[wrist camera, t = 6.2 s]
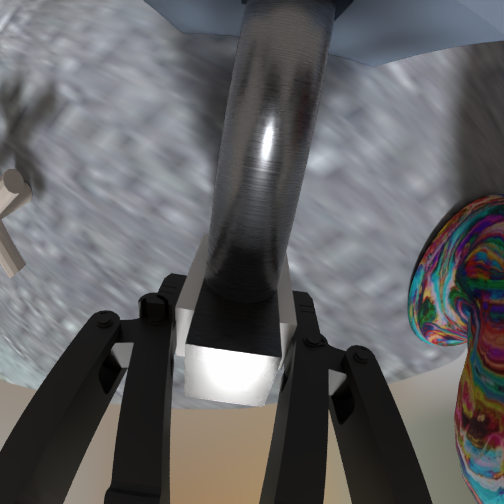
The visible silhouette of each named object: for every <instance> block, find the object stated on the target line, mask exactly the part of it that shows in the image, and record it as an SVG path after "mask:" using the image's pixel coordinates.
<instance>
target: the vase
mask: <svg viewBox="0 0 504 504" xmlns="http://www.w3.org/2000/svg"><path fill="white" fill-rule="evenodd" d="M408 318H409V322H410V326H411V328H412V330H413V332H414V333H415V335H416V336H417V337H418V338H419V339H421V340H422V341H424V342H426V343H428V344H431V345H438V346H455V345H459V344H463V343H466V342H467V344H468V354H467V358H466V361H465V365H464V369H463V372H462V375H461V378H460V382H459V388H458V396H457V402H456V409H455V415H454V422H455V438H456V449H457V454H458V457H459V462H460V467H461V471H462V476H463V479H464V481H465V482H466V484H467V486H468V488H469V490H470V491H471V493H472V495H473V497H474V499H475V500H476V502H477V504H504V195H503V194H492V195H487V196H484V197H481V198H479V199H477V200H475V201H473V202H472V203H470V204H468V205H467V206H466V207H464V208H463V209H461V210H460V211H459V212H458V213H457V214H456V215H455V216H454V217H453V218H452V219H451V220H450V221H449V222H448V223H447V224H446V225H445V226H444V227H443V228H442V230H441V231H440V232H439V233H438V235H437V236H436V237H435V239H434V240H433V242H432V243H431V245H430V246H429V248H428V249H427V251H426V253H425V255H424V256H423V258H422V260H421V262H420V264H419V266H418V269H417V271H416V273H415V276H414V279H413V282H412V285H411V289H410V294H409V299H408Z"/></svg>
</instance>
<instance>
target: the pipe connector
mask: <svg viewBox="0 0 504 504" xmlns="http://www.w3.org/2000/svg"><path fill="white" fill-rule="evenodd" d="M31 198H32V191H31V188H30V186H29V185H28V184H27V183H24V181H23V177H22V176H21V174H20V173H19V172H18V171H16V170H15V169H8V170H7V171H6V172H5V173H4V174H3V175H2V177H1V178H0V264H1V265H2V267H3V269H4V270H5V272H6V273H7V275H8V277H9V278H11V277H13V276H14V275H15V274H16V273H17V272H18V271H20V270H21V269H22V268H23V267H24V266H25V265H26V263H25V261H24V260H23V258H22V256H21V255H20V253H19V251H18V250H17V248H16V246H15V245H14V243H13V241H12V239H11V238H10V236H9V234H8V232H7V230H6V228H5V226H4V225H3V223H2V221H1V219H2V218H4V217H5V216H7V215H9V214H10V213H12V212H13V211H15V210H17V209H18V208H20V207H22V206H23V205H25V204H27V203H28V202H30V201H31Z"/></svg>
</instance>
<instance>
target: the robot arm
mask: <svg viewBox="0 0 504 504" xmlns="http://www.w3.org/2000/svg"><path fill="white" fill-rule="evenodd" d="M208 240H209V234H206V233H204V236H203V238H202V241H201V243H200V245H199V248H198V250H197V253H196V255H195V258H194V260H193V263H192V265H191V268H190V270H189V273H188V275H187V276H185V275H179V274H173V273H171V274H170V275H168V276H167V277H166V278H164V280H163V282H162V285H161V287H160V289H159V292H158V293H149V294H145V295H144V296H142V297H141V298H140V299H139V301H138V307H139V316H140V318H138V319H133V320H120V317H119V316H118V315H117V314H116V313H114V312H112V311H107V310H105V311H99V312H97V313H95V314H94V315H92V316H91V317H90V319H89V320H88V321H87V322H86V324H85V325H84V326H83V328H82V329H81V330H80V331H79V333H78V334H77V335H76V337H75V338H74V339H73V341H72V342H71V343H70V345H69V346H68V347H67V349H66V350H65V352H64V353H63V354H62V356H61V357H60V358H59V360H58V361H57V363H56V364H55V365H54V367H53V368H52V370H51V371H50V373H49V374H48V375H47V377H46V378H45V380H44V381H43V383H42V384H41V386H40V387H39V389H38V390H37V392H36V393H35V395H34V396H33V398H32V399H31V401H30V403H29V404H28V406H27V407H26V409H25V410H24V412H23V414H22V415H21V417H20V419H19V420H18V422H17V423H16V425H15V427H14V428H13V430H12V432H11V434H10V435H9V437H8V439H7V440H6V442H5V444H4V446H3V448H2V450H1V451H0V504H63V502H64V500H65V497H66V496H67V493H68V491H69V488H70V486H71V484H72V481H73V479H74V477H75V475H76V472H77V470H78V468H79V466H80V463H81V461H82V459H83V457H84V455H85V453H86V450H87V448H88V446H89V444H90V442H91V440H92V438H93V436H94V433H95V431H96V429H97V427H98V425H99V423H100V421H101V419H102V417H103V415H104V413H105V411H106V409H107V407H108V405H109V403H110V401H111V399H112V397H113V395H114V393H115V391H116V389H117V388H118V386H119V384H120V382H121V380H122V378H123V376H124V374H125V372H126V370H127V369H128V372H127V377H126V382H125V387H124V392H123V398H122V404H121V410H120V417H119V422H118V429H117V436H116V444H115V452H114V461H113V470H112V481H111V485H110V487H109V488H108V490H107V491H106V494H105V498H104V504H170V476H169V475H170V473H169V472H170V466H169V465H170V424H171V402H172V385H173V370H174V353H175V350H176V355H178V356H184V357H185V342H186V338H187V335H188V331H189V328H190V324H191V321H192V317H193V314H194V310H195V307H196V303H197V300H198V297H199V293H200V290H201V286H202V283H203V280H204V277H205V269H206V259H207V249H208ZM277 293H278V306H279V319H280V333H281V347H282V359H281V362H280V365H279V368H278V369H279V370H281V369H282V366H283V364H284V370H285V371H284V373H283V376H282V378H281V381H280V383H279V386H278V388H280V392H279V399H278V405H277V411H276V417H275V423H274V429H273V435H272V441H271V446H270V452H269V457H268V462H267V467H266V473H265V477H264V482H263V487H262V492H261V497H260V502H259V504H323V500H324V489H325V477H326V461H327V442H328V410H329V411H330V415H331V419H332V423H333V427H334V430H335V435H336V438H337V442H338V446H339V450H340V455H341V459H342V462H343V467H344V471H345V475H346V479H347V484H348V488H349V492H350V497H351V501H352V504H432V501H431V497H430V494H429V491H428V488H427V485H426V482H425V479H424V476H423V473H422V471H421V468H420V465H419V462H418V459H417V457H416V454H415V451H414V449H413V446H412V443H411V441H410V438H409V436H408V433H407V431H406V428H405V425H404V423H403V420H402V418H401V415H400V413H399V410H398V408H397V406H396V403H395V401H394V399H393V396H392V394H391V391H390V389H389V387H388V385H387V382H386V380H385V378H384V375H383V373H382V371H381V369H380V366H379V364H378V362H377V360H376V358H375V356H374V354H373V353H372V352H371V351H370V350H369V349H368V348H366V347H363V346H359V345H354V346H351V347H349V348H348V349H347V351H343V350H340V349H337V348H334V347H332V346H330V345H329V344H328V342H327V339H326V338H325V337H324V336H323V335H322V334H320V330H319V325H318V321H317V316H316V314H315V308H314V303H313V299H312V298H311V297H310V295H309V294H308V293H307V292H299V291H292V285H291V279H290V272H289V266H288V259H287V253H286V254H285V258H284V262H283V266H282V270H281V274H280V278H279V282H278V286H277Z"/></svg>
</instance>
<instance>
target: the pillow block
mask: <svg viewBox="0 0 504 504" xmlns="http://www.w3.org/2000/svg"><path fill="white" fill-rule="evenodd" d="M144 1H145V2H146V3H147V4H149V5H150V6H151V7H152V8H154V9H155V10H156V11H157V12H158V13H160V14H161V15H162V16H163V17H164V18H165V19H167V20H168V21H169V22H170V23H171V24H172V25H174V26H175V27H176V28H177V29H178V30H179V31H180V32H181V33H204V34H220V35H231V36H240V31H241V27H242V22H243V17H244V12H245V8H246V3H247V0H144ZM503 40H504V0H337V6H336V12H335V19H334V25H333V31H332V37H331V42H330V48H329V54H333V55H337V56H340V57H343V58H347V59H350V60H353V61H356V62H359V63H362V64H365V65H368V66H371V67H375V66H379V65H382V64H385V63H389V62H392V61H396V60H400V59H403V58H407V57H411V56H415V55H419V54H424V53H428V52H432V51H437V50H442V49H447V48H452V47H458V46H464V45H470V44H477V43H485V42H493V41H503Z"/></svg>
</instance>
